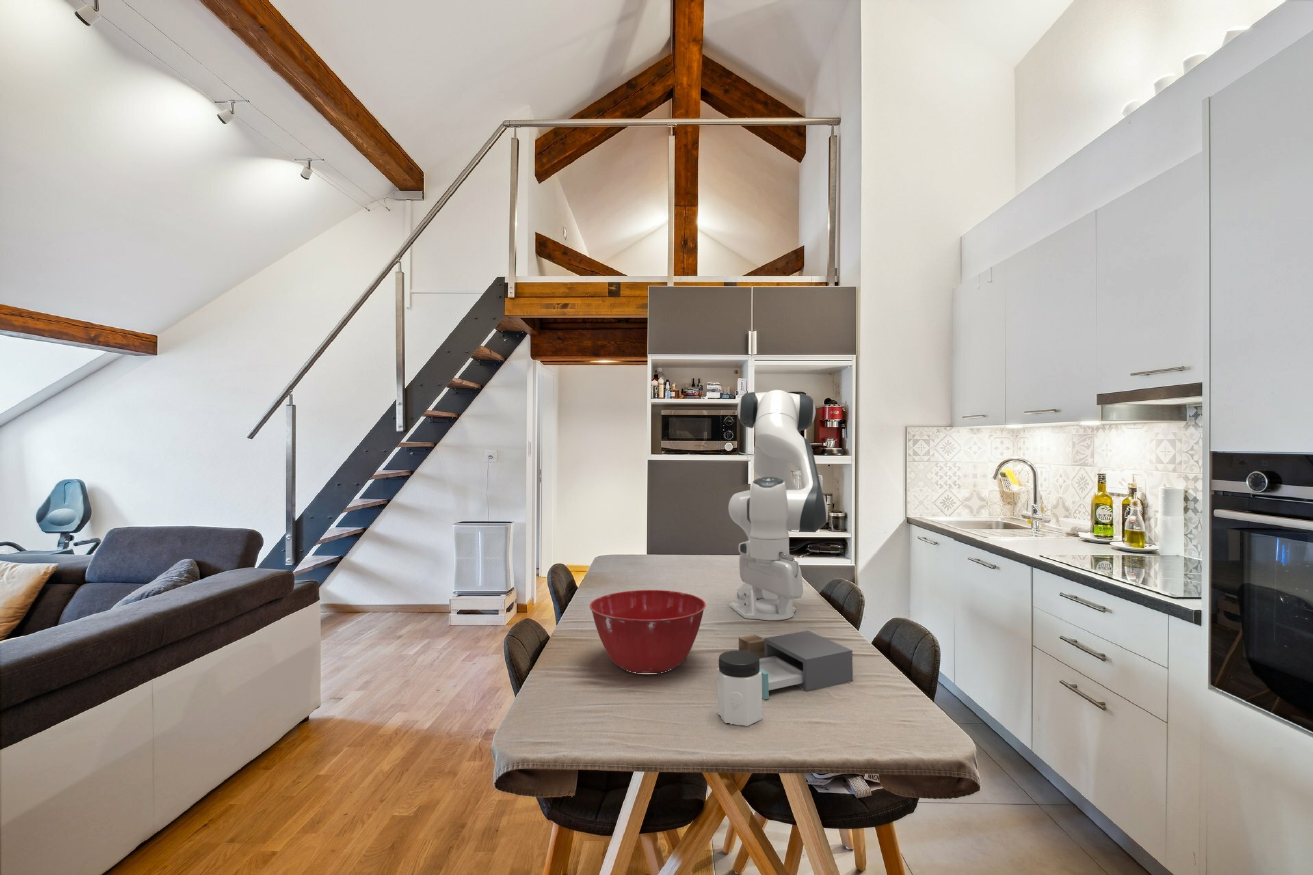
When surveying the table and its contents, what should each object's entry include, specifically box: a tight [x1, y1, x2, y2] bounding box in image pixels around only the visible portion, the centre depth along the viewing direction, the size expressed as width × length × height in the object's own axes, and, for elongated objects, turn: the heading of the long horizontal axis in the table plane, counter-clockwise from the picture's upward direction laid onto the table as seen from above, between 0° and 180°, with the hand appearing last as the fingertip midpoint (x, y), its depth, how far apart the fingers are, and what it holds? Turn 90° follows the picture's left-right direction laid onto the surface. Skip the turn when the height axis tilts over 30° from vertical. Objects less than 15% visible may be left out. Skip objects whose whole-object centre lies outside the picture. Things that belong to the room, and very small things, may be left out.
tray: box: [759, 656, 803, 700], centre depth 142 cm, size 16×13×5 cm
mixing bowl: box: [589, 589, 707, 673], centre depth 154 cm, size 28×28×16 cm
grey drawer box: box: [763, 630, 854, 692], centre depth 147 cm, size 16×13×7 cm
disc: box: [756, 599, 779, 614], centre depth 142 cm, size 7×7×2 cm
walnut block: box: [738, 634, 765, 659], centre depth 157 cm, size 5×5×5 cm
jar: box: [716, 649, 763, 727], centre depth 125 cm, size 9×8×12 cm
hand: (770, 609), depth 142 cm, fingers closed on disc, 7 cm apart
